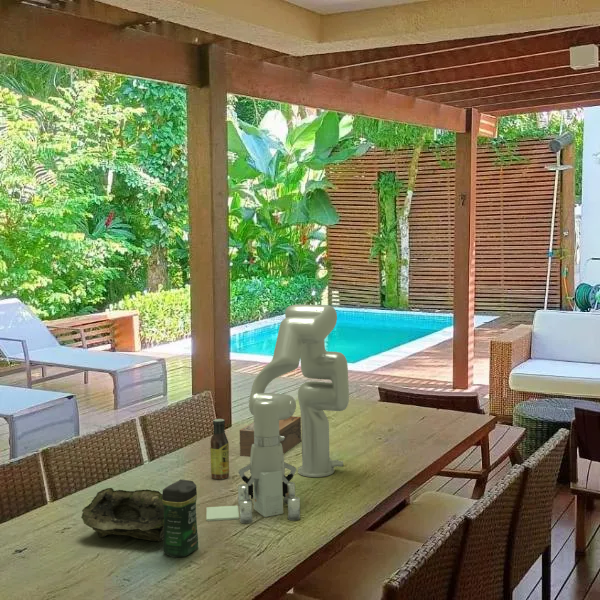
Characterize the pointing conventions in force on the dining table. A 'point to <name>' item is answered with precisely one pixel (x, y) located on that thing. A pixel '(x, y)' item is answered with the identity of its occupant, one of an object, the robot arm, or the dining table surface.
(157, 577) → the dining table surface
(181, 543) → the coffee jar
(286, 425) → the tissue box cover
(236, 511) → the sage mat
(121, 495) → the hollow geode rock
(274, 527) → the dining table surface
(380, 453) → the dining table surface
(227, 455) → the sauce bottle
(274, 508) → the small box
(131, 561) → the dining table surface
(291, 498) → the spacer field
